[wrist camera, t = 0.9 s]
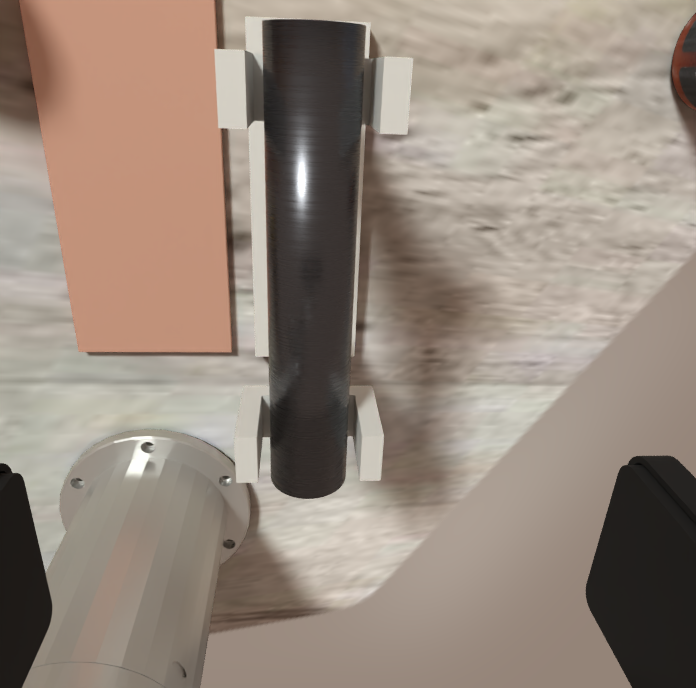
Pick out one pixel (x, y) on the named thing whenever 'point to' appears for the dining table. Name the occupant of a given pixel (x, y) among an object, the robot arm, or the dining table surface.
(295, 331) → the cylinder
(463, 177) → the dining table surface
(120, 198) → the mat
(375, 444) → the stand
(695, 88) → the supplement bottle
